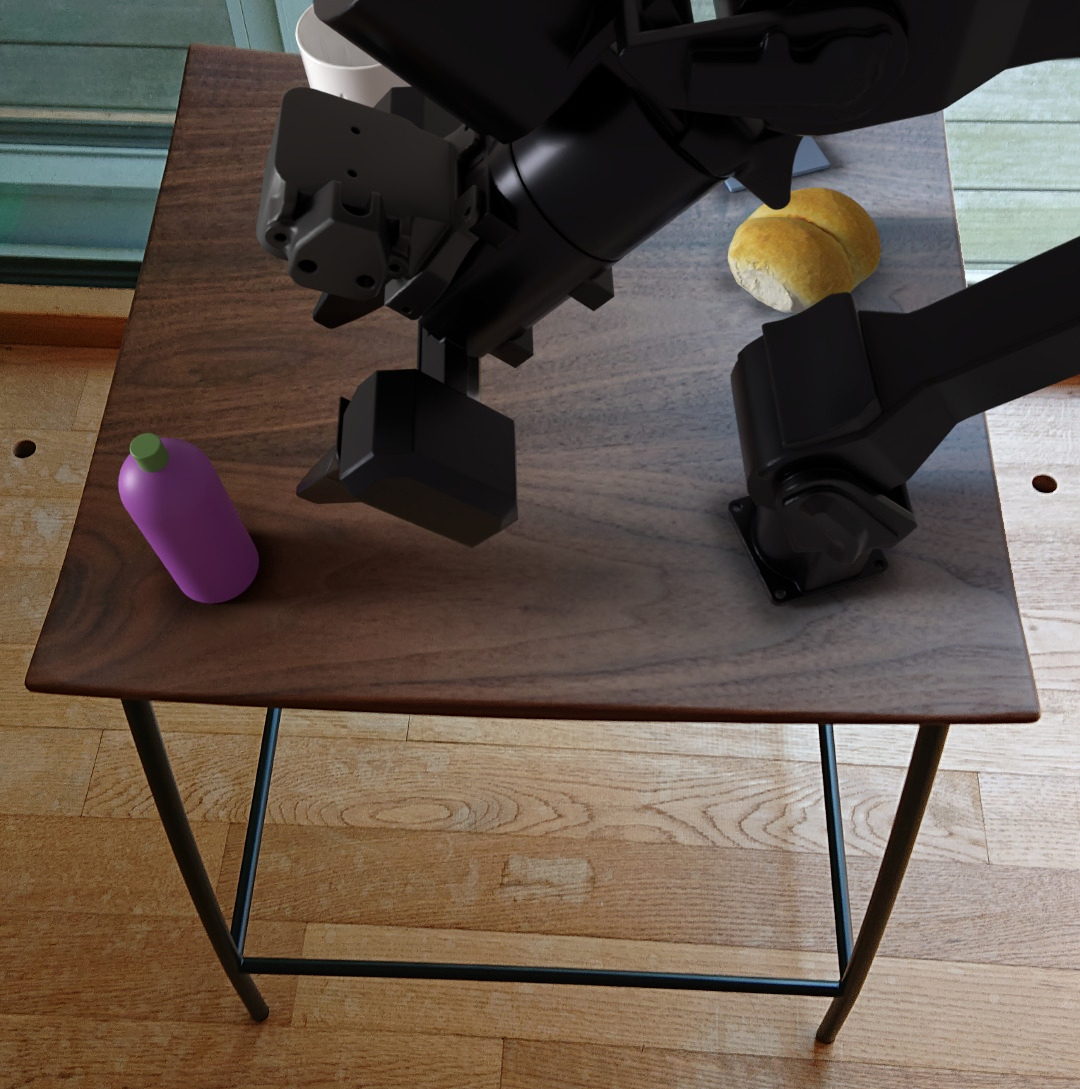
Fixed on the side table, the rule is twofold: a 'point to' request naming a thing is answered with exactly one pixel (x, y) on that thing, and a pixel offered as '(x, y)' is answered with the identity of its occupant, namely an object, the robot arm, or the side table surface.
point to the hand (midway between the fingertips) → (313, 404)
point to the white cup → (341, 64)
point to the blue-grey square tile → (796, 162)
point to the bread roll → (805, 249)
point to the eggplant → (188, 518)
